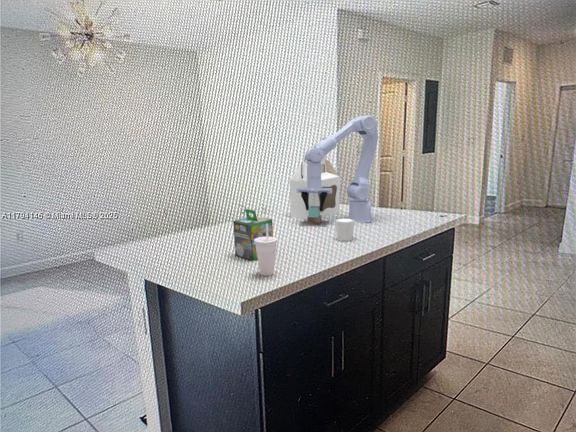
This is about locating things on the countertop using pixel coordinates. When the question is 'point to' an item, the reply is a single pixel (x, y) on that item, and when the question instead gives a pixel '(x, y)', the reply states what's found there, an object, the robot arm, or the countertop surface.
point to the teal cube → (314, 211)
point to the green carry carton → (250, 234)
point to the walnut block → (314, 220)
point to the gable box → (327, 181)
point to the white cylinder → (344, 229)
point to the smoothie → (266, 253)
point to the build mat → (323, 224)
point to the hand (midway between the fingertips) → (314, 210)
